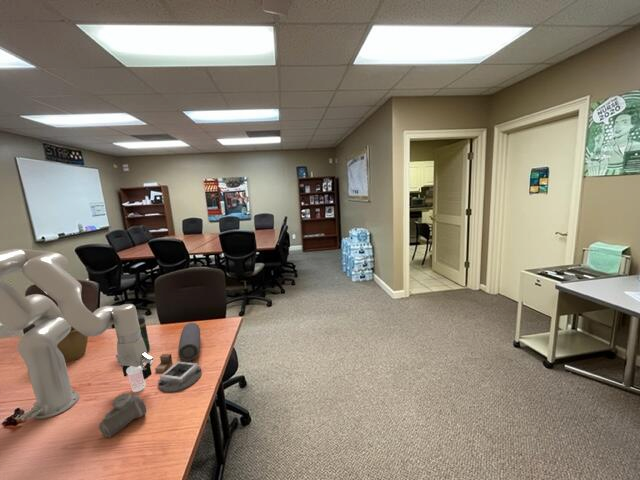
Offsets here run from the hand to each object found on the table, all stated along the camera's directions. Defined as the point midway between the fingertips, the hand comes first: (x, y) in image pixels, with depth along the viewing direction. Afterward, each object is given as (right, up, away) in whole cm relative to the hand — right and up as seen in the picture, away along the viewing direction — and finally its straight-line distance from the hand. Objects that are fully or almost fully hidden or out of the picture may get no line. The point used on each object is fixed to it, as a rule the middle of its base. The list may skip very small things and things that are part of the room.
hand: (137, 375), depth 111 cm
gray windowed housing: (+14, -4, +5) cm, 16 cm away
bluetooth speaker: (+9, 0, +26) cm, 27 cm away
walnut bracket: (+3, -3, +13) cm, 14 cm away
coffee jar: (-17, -1, +28) cm, 32 cm away
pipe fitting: (+7, -9, -17) cm, 20 cm away
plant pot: (-47, -4, +25) cm, 54 cm away
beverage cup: (0, -6, +1) cm, 6 cm away
